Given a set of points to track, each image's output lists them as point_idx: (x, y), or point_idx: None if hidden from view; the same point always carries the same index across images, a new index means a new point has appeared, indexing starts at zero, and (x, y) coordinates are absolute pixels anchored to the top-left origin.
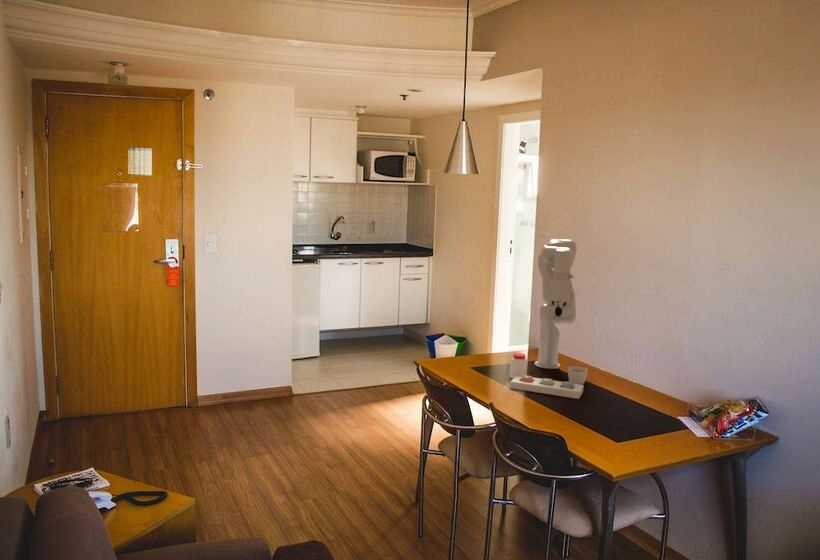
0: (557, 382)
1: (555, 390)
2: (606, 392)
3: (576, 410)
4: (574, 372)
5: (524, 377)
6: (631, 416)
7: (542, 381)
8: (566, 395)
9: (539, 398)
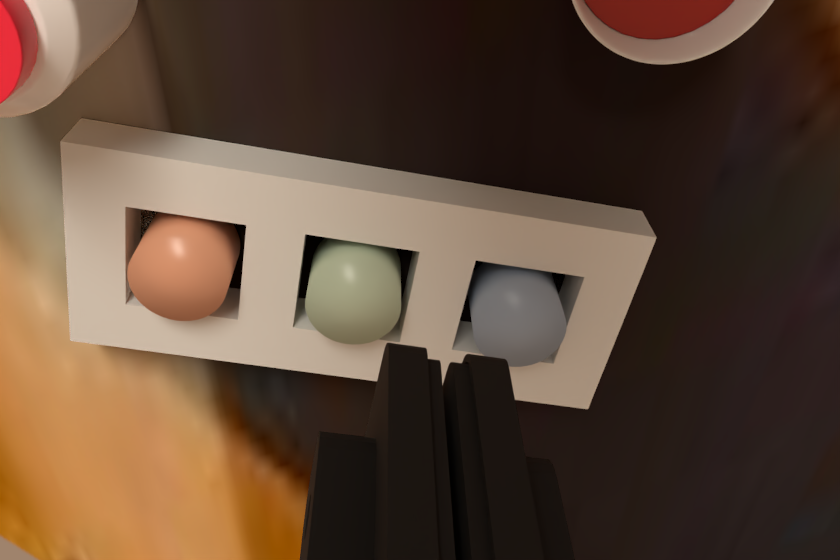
0: (439, 243)
1: None
2: (836, 166)
3: None
4: (623, 50)
5: (159, 302)
6: (818, 542)
7: (316, 324)
8: None
9: None
